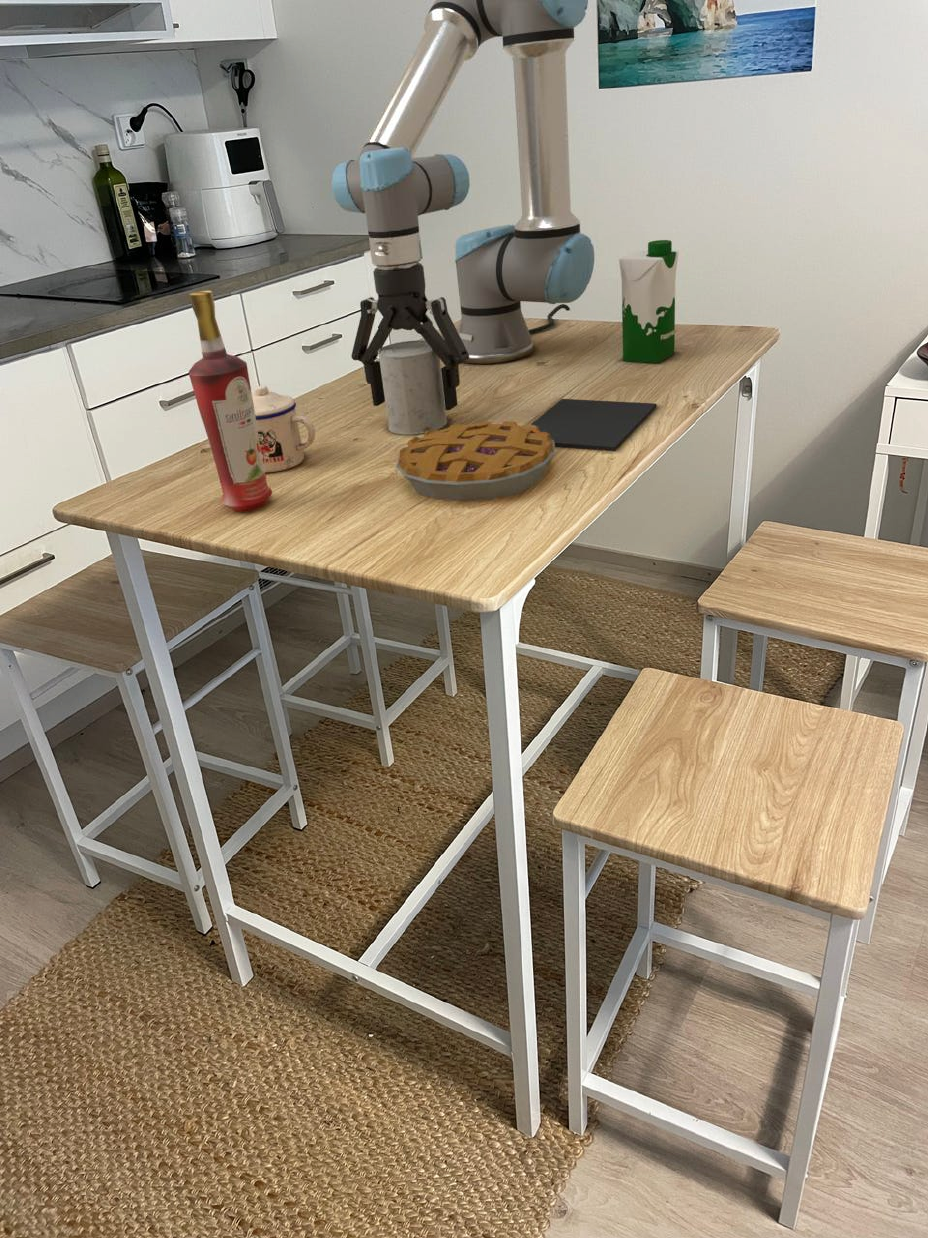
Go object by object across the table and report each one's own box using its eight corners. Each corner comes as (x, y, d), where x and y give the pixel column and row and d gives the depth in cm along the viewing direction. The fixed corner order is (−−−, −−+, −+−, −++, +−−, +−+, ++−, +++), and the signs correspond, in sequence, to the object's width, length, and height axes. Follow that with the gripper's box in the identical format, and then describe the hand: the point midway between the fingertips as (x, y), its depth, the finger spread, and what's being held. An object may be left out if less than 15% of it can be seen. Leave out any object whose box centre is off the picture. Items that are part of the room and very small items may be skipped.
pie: (379, 506, 123) (373, 470, 121) (422, 448, 142) (418, 416, 139) (544, 506, 118) (541, 469, 116) (567, 446, 136) (565, 412, 134)
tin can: (439, 433, 147) (430, 354, 141) (381, 435, 149) (370, 357, 143) (452, 414, 155) (444, 338, 149) (397, 416, 157) (387, 341, 151)
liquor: (252, 491, 133) (206, 285, 119) (286, 500, 129) (243, 287, 115) (211, 509, 128) (158, 297, 115) (244, 519, 124) (193, 301, 110)
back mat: (561, 402, 155) (561, 398, 155) (656, 407, 148) (656, 403, 148) (512, 443, 140) (511, 439, 140) (615, 451, 133) (615, 447, 133)
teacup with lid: (234, 473, 140) (217, 396, 134) (264, 451, 148) (249, 377, 142) (306, 475, 136) (291, 396, 131) (333, 453, 144) (320, 377, 138)
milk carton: (660, 365, 168) (661, 246, 158) (615, 361, 173) (613, 246, 163) (681, 352, 174) (683, 237, 164) (637, 349, 179) (636, 237, 169)
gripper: (315, 270, 142) (338, 408, 153) (459, 268, 131) (473, 417, 142) (342, 261, 148) (362, 394, 158) (483, 258, 137) (494, 402, 148)
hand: (415, 405), depth 150 cm, fingers open, 12 cm apart
